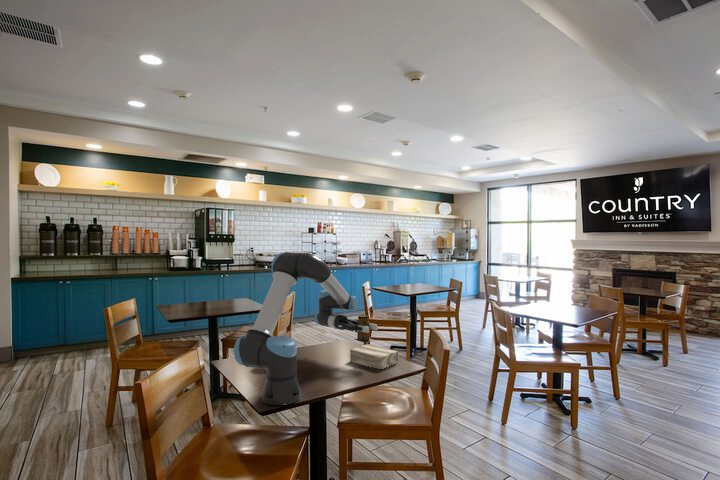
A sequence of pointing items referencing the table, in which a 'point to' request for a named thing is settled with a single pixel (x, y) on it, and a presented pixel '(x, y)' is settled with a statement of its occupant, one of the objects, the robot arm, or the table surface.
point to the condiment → (363, 336)
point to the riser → (374, 356)
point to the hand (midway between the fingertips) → (372, 328)
